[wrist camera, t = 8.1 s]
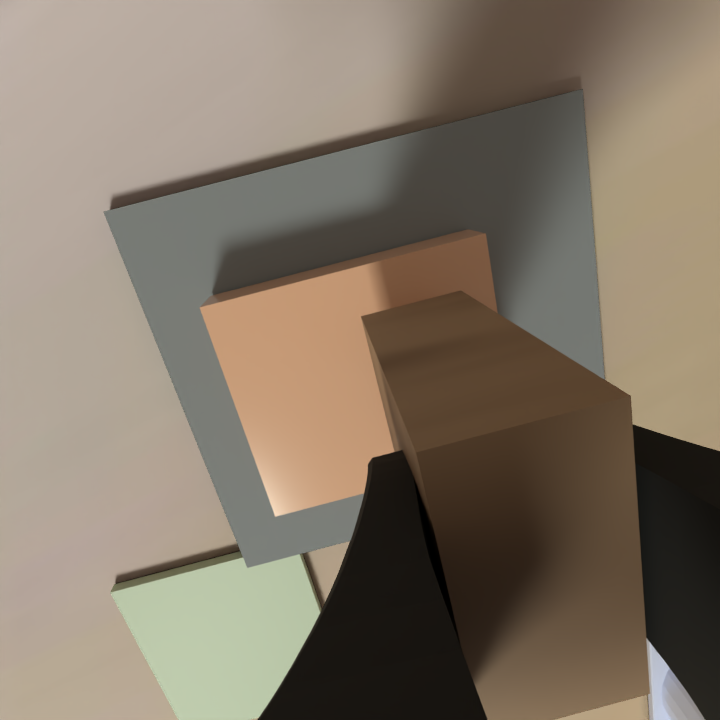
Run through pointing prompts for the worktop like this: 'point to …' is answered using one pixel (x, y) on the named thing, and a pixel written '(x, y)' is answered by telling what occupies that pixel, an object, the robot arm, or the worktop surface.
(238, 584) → the rest pad
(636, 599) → the walnut block
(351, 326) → the tile
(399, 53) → the worktop surface
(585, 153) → the mat
